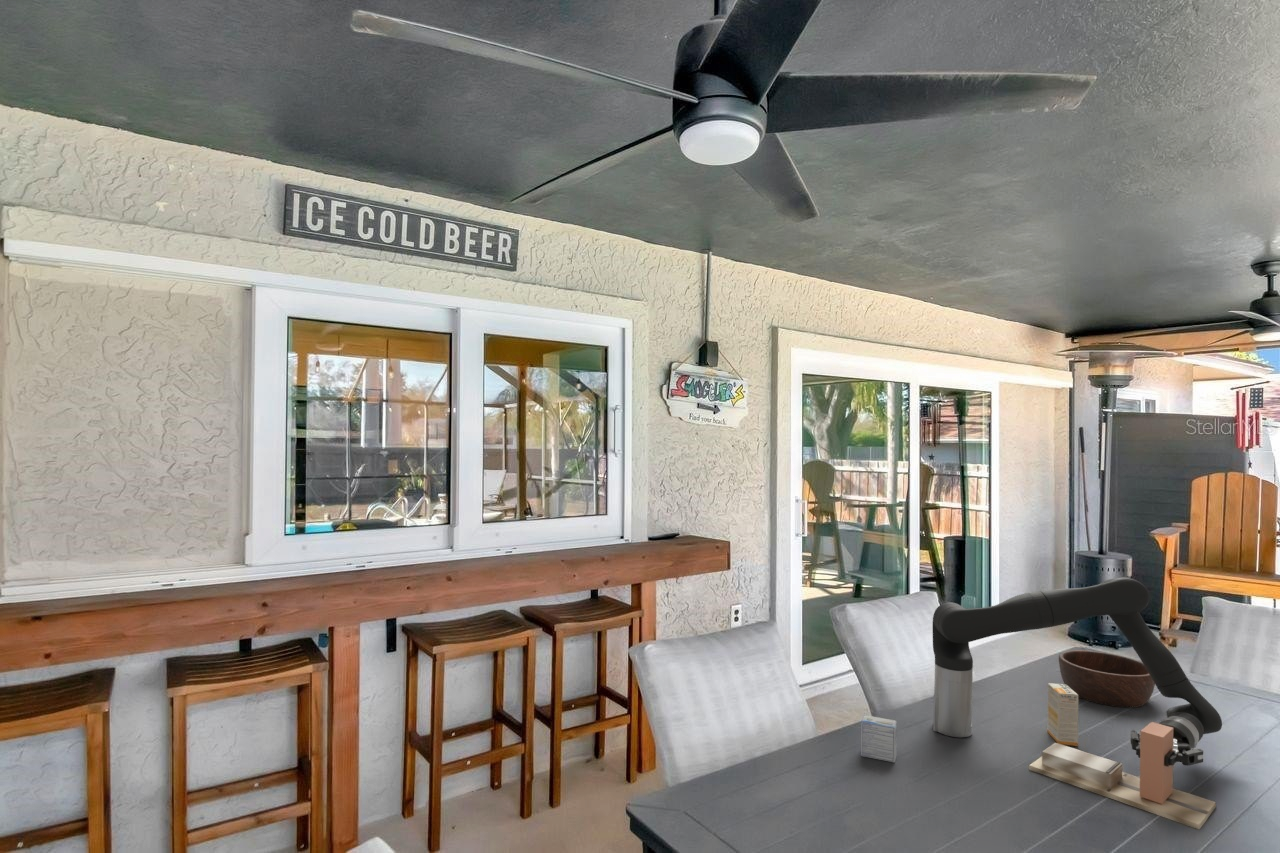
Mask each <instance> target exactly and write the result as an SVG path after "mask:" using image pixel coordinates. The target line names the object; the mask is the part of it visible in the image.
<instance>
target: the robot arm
mask: <svg viewBox="0 0 1280 853" xmlns="http://www.w3.org/2000/svg"><path fill="white" fill-rule="evenodd" d="M1150 597H1151V596H1150V592H1149V590H1148V588H1147V587H1146V585H1144V584H1143V583H1141V582H1140V581H1138V580H1136V579H1134V578H1131V577H1124V576H1123V577H1115V578H1110V579H1106V580H1103V581H1102V582H1101V583H1100V584H1095V585H1091V586H1085V587H1074V588H1071V587H1070V588H1056V589H1055V588H1054V589H1045V590H1044V589H1043V590H1038V591H1037V590H1036V591H1031V592H1026V593H1022V594H1017V595H1015V596H1013V597H1010V598H1008V599H1006V600H1004V601H1002V602H1000V603H997V604H996V605H995V604H994V605H991V606H986V607H985V606H984V607H976V608H966V607H963V606H962V605H960V604H958V603H957V602H956V603H955V602H949V601H947V602H944V603H940V605H939V606H937V608H936V609H935V611H934V612H933V615H932V650H933V655H934V690H933V692H934V693H933V723H932V725H933V726H932V728H933V729H932V730H933V732H938V733H940V734H942V735H944V736H948V737H953V738H968V737H970V736H971V735H972V734H973V733H972V732H973V724H972V723H973V675H974V674H973V672H974V671H973V668H974V665H973V664H974V660H973V657H972V656H973V655H972V652H971V650H970V643H971V642H974V641H978V640H981V639H986V638H989V637H992V636H997V635H1003V634H1011V633H1019V632H1025V631H1033V630H1040V629H1046V628H1052V627H1059V626H1062V625H1068V624H1070V623H1075V622H1079V621H1082V620H1086V619H1089V618H1094V617H1098V616H1099V617H1101V616H1108V617H1109V618H1110V619H1111V620H1112V621H1113V623H1114V624H1115V625H1116V626H1117V627H1118V629H1119V630H1120V631H1121V633H1122V634H1123V636H1124V637H1125V638H1126V640H1127V641H1128V643H1129V644H1130V645H1131V647H1132V649H1133V650H1134V652H1135V653H1136V655H1137V656H1138V658H1139V659H1140V661H1141V662H1143V664H1144V666H1145V668H1146V669H1147V671H1148V673H1149V674H1150V676H1151V678H1152V680H1153V681H1154V683H1155V686H1156V689H1157V690H1158V691H1159V693H1160V694H1161V695H1162V696H1163V697H1165V698H1170V699H1172V698H1173V699H1175V698H1176V699H1182V700H1185V701H1186V702H1187V703H1186V704H1180V705H1176V706H1172V707H1170V708H1168V709H1167V710H1166V718H1164V719H1162V720H1161V721H1160V722H1158V724H1161V725H1165V726H1169V727H1172V728H1173V745H1172V748H1171V751H1169V752H1168V753H1167V754H1166V755H1165V756H1164V766H1167V767H1169V766H1170V765H1171V766H1172V765H1173V766H1174V765H1176V764H1179V763H1181V765H1183V766H1184V767H1189V766H1193V765H1196V764H1202V763H1204V750H1203V749H1202V748H1196V747H1197V745H1198V743H1199V742H1200V741H1201V740H1202V739H1203V736H1204V735H1207V734H1213V733H1217V732H1220V731H1221V729H1222V726H1223V721H1222V717H1221V714H1220V713H1219V712H1218V710H1217V709H1216V708H1215V707H1214V706H1213V705H1212V704H1211V703H1210V702H1209V701H1208V700H1207V699H1206V698H1205V696H1203V695H1202V694H1201V693H1200V692H1199V690H1198V689H1196V687H1195V686H1194V685H1193V684H1192V682H1191V681H1190V679H1189V678H1188V676H1187V675H1186V672H1185V671H1184V669H1183V668H1182V666H1181V665H1180V663H1179V662H1178V660H1177V659H1176V657H1175V655H1173V653H1172V652H1171V651H1170V650H1169V649H1168V648H1167V646H1166V645H1165V644H1164V643H1163V642H1162V641H1161V640H1160V639H1159V638H1158V637H1157V635H1155V633H1154V632H1153V630H1152V629H1150V627H1149V626H1148V624H1147V623H1146V622H1145V620H1144V618H1143V617H1142V615H1141V613H1140V612H1143V610H1145V608H1147V606H1148V604H1149V602H1150ZM1129 739H1130V745H1131V749H1132V750H1133V751H1135V755H1137V756H1138V759H1140V733H1139V732H1137V730H1134V729H1131V730H1130V738H1129Z"/></svg>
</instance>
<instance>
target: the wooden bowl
mask: <svg viewBox="0 0 1280 853" xmlns="http://www.w3.org/2000/svg"><path fill="white" fill-rule="evenodd" d="M1058 666H1059V670H1060V671H1059V672H1060V675H1061V678H1062V682H1063V683H1064V684H1065V685H1067V686H1068V687H1070V688H1071V689H1072V690H1073V691H1074V692H1075V693H1077V694H1078V698H1080V699H1084V700H1086V701H1089V702H1092V703H1096V704H1099V705H1100V704H1101V705H1105V706H1109V707H1117V708H1118V707H1119V708H1138V707H1141V706H1144V705H1145V704H1147V702H1148V701H1149V700H1150V698H1152V694H1153V693H1154V690H1155V686H1156V685H1155V683H1154V681H1153V680H1152V678H1151V676H1150V674H1149V673H1148V671H1147V669H1146V668H1145V666H1144V664H1143V662H1142V661H1141V660H1138V659H1135V658H1132V657H1128V656H1124V655H1119V654H1116V653H1110V652H1109V653H1108V652H1103V651H1095V650H1083V649H1081V650H1080V649H1079V650H1073V649H1072V650H1066V651H1062V652H1061V653H1059V655H1058Z"/></svg>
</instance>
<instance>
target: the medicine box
mask: <svg viewBox="0 0 1280 853" xmlns="http://www.w3.org/2000/svg"><path fill="white" fill-rule="evenodd" d="M860 724H861V725H860V726H861V728H860V730H861V733H860V734H861V736H860V756H861V757H863V758H870V759H876V760H880V761H884V762H889V763H896V759H897V750H898V748H897V742H898V741H897V735H898V734H897V732H898V731H897V729H898V727H897V726H898V725H897V724H898V722H897V720H894V719H888V718H883V717H879V716H872V715H863V717H862V719H861V723H860Z"/></svg>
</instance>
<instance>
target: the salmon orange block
mask: <svg viewBox="0 0 1280 853" xmlns="http://www.w3.org/2000/svg"><path fill="white" fill-rule="evenodd" d="M1139 734H1140V758H1139V760H1140V761H1139V777H1140V797H1143V798H1146V799H1149V800H1152V801H1155V802H1157V803H1160V804H1163V803H1164V801H1165V800H1166V799H1167V798H1168V797H1169V796H1170V795H1171V794H1172V792H1173V788H1174V787H1173V786H1174V785H1173V784H1174V783H1173V780H1174V777H1173V776H1174V765H1172V766H1171V765H1170V766H1169V767H1167V766H1164V756H1165V755H1166V754H1167V753H1168V752H1169V751H1171V748H1172V745H1173V728H1172V727H1169V726H1165V725H1161V724H1159V722H1158V723H1157V722H1153V721H1151V722H1149V723H1148V724H1147V725H1146V726H1145V727H1144V728H1142V729H1141V730H1140V733H1139Z"/></svg>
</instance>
